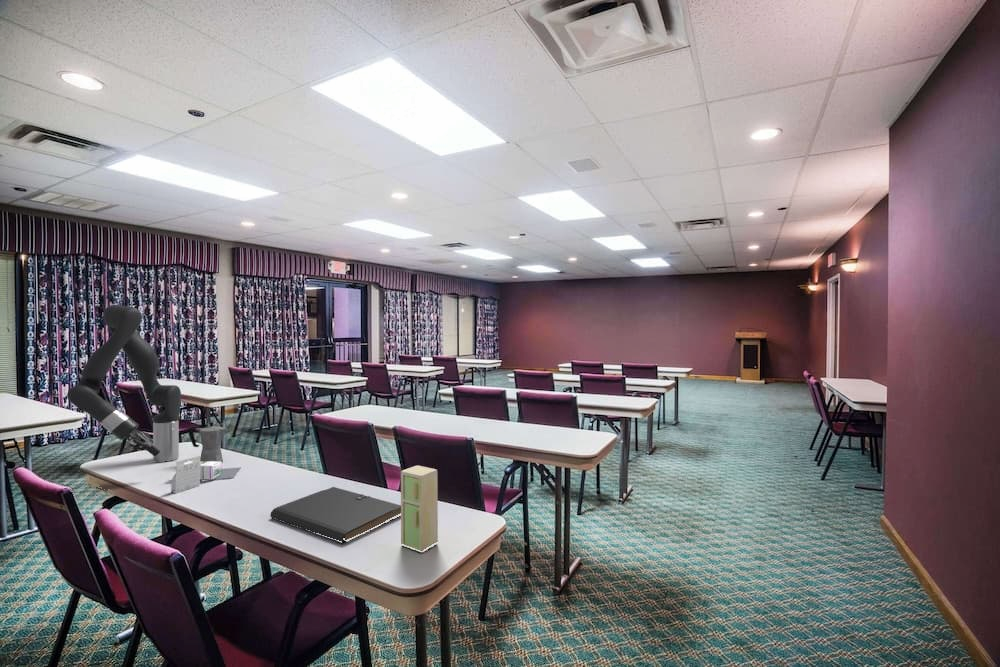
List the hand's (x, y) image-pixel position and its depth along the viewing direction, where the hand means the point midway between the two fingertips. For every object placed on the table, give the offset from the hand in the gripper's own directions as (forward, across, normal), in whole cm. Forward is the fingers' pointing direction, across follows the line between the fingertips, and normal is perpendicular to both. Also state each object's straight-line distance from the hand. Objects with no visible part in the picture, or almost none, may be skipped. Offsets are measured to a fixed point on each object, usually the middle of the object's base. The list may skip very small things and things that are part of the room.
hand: (157, 454), depth 180 cm
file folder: (+54, -59, -39) cm, 89 cm away
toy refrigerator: (+69, -86, -54) cm, 123 cm away
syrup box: (+10, -1, -1) cm, 10 cm away
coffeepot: (+16, +19, -2) cm, 25 cm away
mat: (+20, 0, -6) cm, 21 cm away
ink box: (+17, -15, -2) cm, 23 cm away
